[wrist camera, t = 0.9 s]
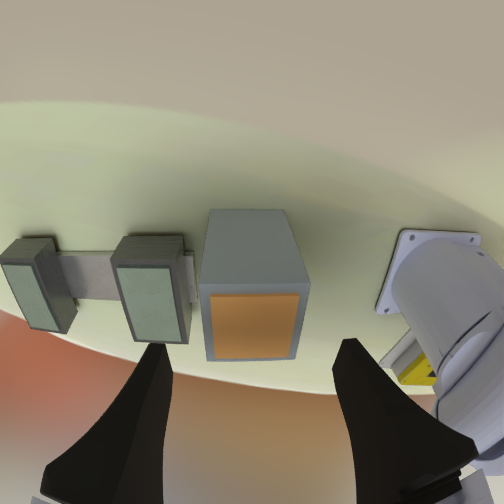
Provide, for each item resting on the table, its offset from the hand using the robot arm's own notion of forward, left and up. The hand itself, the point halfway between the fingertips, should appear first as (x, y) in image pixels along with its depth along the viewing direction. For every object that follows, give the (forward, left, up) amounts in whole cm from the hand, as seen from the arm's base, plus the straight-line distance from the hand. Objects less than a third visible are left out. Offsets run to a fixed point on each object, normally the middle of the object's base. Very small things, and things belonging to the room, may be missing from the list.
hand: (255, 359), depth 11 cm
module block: (0, 0, -9) cm, 9 cm away
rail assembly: (+11, +3, -9) cm, 15 cm away
